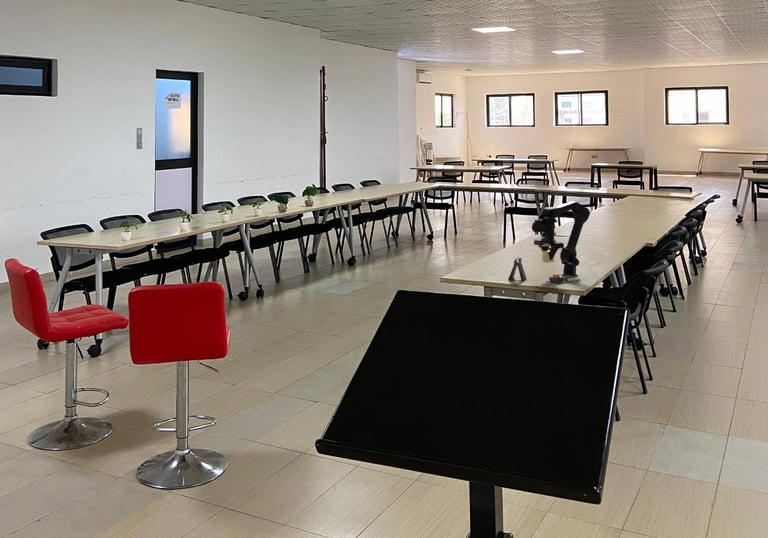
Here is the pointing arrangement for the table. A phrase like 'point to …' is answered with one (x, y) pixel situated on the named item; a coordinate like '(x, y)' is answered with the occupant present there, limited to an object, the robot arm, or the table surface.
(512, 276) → the phone stand
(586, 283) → the table surface
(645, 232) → the table surface
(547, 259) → the billet
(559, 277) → the red rounded part
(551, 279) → the ball holder tray
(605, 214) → the table surface
